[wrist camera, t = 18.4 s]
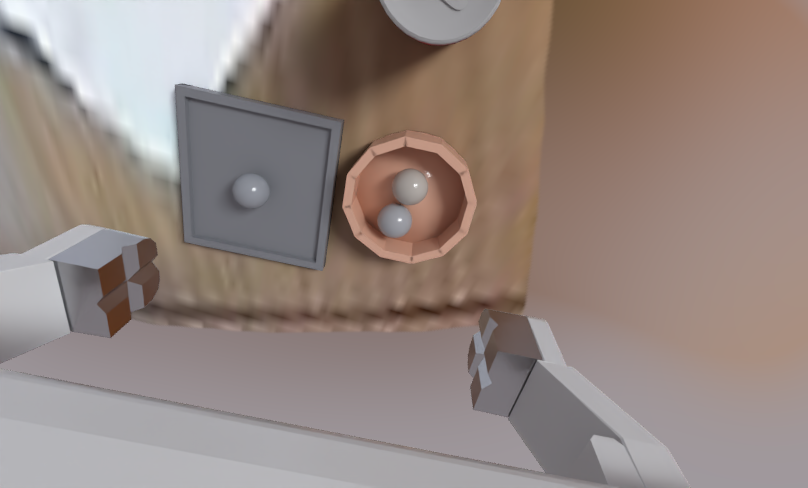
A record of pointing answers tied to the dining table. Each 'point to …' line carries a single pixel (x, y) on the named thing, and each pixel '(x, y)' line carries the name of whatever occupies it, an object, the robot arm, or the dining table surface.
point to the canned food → (440, 18)
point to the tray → (266, 156)
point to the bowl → (431, 218)
